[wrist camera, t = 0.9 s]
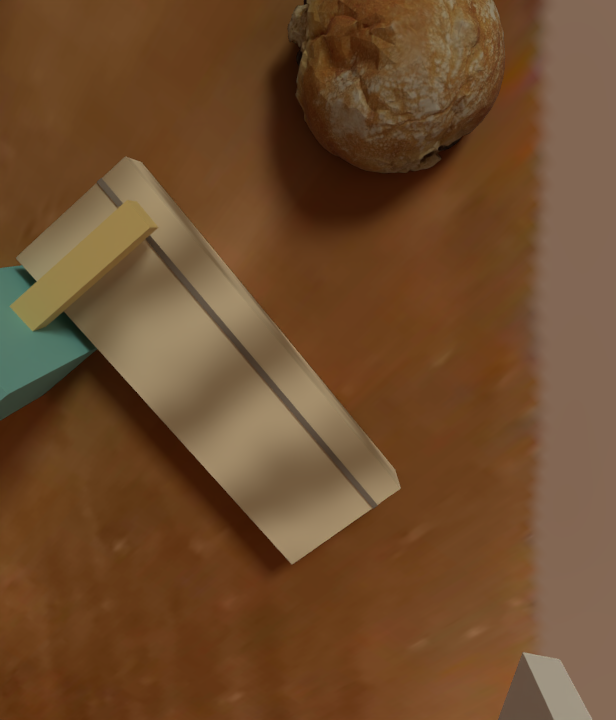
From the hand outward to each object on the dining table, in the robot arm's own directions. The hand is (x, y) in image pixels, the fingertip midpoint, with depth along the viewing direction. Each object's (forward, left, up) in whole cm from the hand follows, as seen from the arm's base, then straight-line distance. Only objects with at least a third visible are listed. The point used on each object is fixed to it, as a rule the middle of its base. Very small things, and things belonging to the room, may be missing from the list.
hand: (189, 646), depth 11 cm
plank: (-2, -3, -22) cm, 22 cm away
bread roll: (-9, +14, -23) cm, 28 cm away
